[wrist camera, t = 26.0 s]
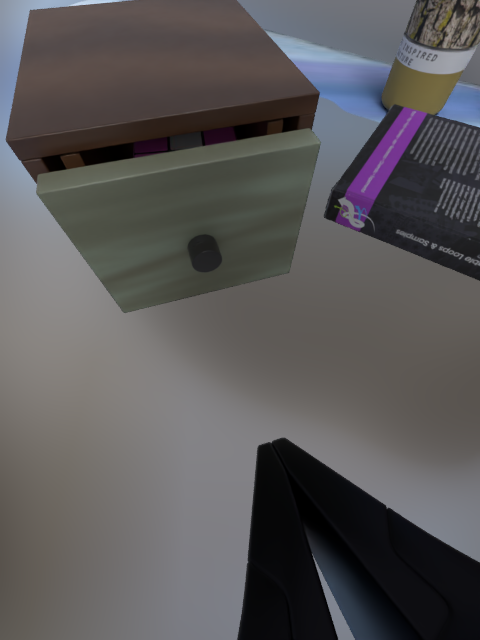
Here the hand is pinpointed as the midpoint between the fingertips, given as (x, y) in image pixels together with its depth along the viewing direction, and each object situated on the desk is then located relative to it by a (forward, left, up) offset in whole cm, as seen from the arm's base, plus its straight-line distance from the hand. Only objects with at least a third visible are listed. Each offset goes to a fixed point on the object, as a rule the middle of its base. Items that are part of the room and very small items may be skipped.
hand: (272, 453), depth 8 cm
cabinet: (+5, +19, -7) cm, 21 cm away
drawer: (+4, +16, -6) cm, 18 cm away
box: (+25, +7, -7) cm, 27 cm away
